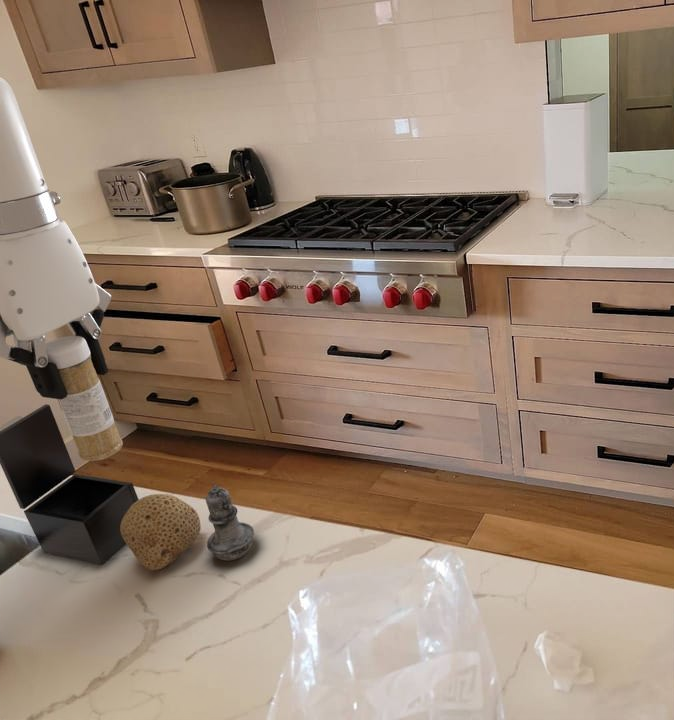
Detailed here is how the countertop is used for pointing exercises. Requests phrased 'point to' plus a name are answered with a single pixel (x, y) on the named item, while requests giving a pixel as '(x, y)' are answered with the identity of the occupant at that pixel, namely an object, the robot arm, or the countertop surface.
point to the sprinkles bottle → (84, 399)
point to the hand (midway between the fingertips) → (75, 383)
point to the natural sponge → (159, 529)
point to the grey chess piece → (227, 527)
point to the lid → (33, 455)
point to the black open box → (82, 518)
